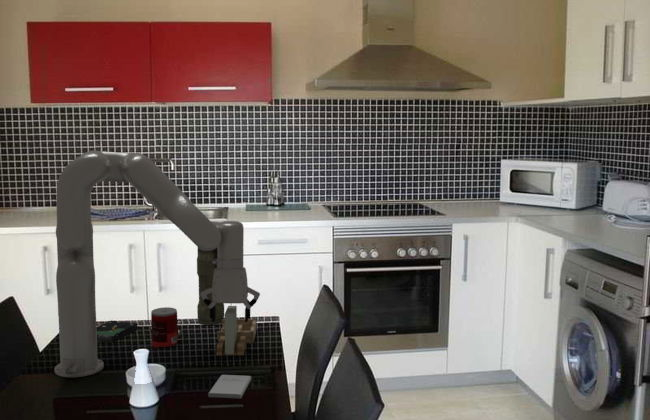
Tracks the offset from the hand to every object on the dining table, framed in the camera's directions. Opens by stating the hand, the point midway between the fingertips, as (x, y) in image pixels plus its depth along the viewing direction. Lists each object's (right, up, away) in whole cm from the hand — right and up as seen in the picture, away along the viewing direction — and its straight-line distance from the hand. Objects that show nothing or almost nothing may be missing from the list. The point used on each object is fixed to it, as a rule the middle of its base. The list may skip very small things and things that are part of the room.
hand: (230, 320), depth 190 cm
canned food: (-21, -9, +7) cm, 24 cm away
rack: (0, -8, +14) cm, 16 cm away
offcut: (-2, -6, +10) cm, 12 cm away
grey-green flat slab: (0, -9, +1) cm, 9 cm away
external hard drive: (+4, -14, -25) cm, 29 cm away
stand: (0, -10, +1) cm, 10 cm away
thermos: (-11, -6, +29) cm, 32 cm away
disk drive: (-41, -8, +18) cm, 45 cm away
